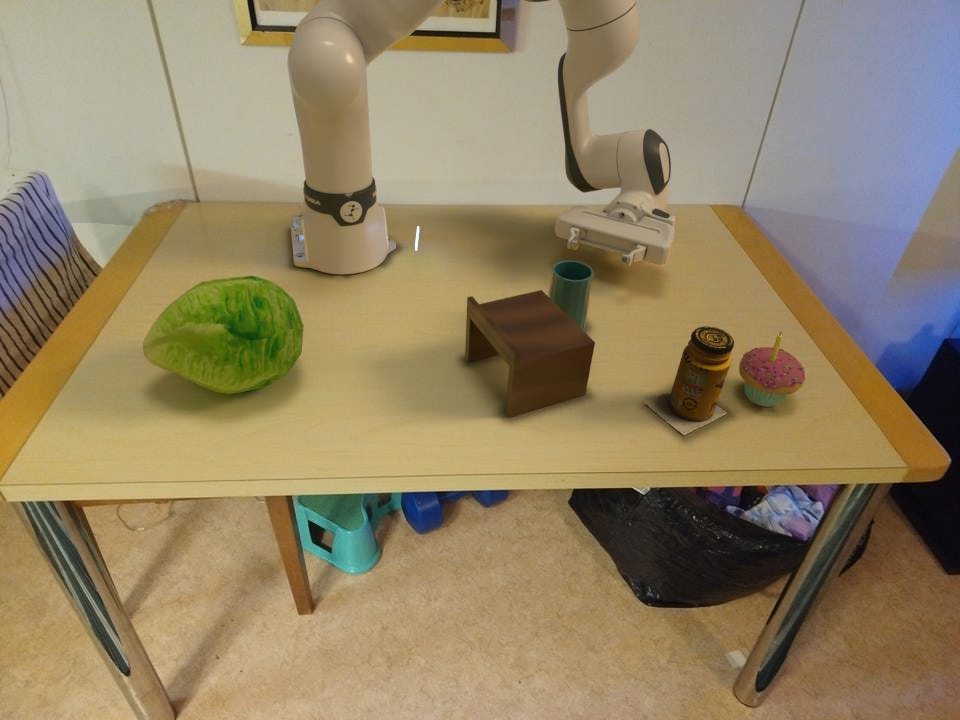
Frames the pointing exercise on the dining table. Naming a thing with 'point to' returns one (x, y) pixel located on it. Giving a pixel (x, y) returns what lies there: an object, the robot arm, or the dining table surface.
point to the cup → (572, 289)
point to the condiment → (697, 381)
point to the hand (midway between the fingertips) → (598, 253)
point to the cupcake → (770, 374)
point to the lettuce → (228, 335)
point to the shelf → (531, 349)
